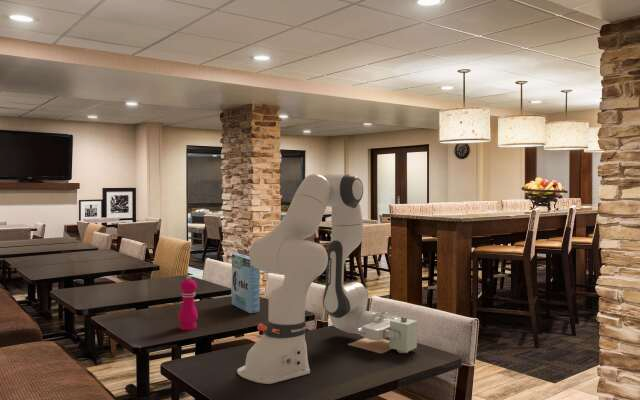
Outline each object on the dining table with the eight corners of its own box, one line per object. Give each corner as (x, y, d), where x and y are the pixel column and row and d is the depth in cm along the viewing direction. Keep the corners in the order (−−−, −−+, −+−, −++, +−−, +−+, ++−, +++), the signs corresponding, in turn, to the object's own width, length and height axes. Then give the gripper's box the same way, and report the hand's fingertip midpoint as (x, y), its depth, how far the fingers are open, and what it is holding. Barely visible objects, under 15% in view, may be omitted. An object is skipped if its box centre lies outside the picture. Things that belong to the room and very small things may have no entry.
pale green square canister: (406, 352, 177) (407, 321, 177) (389, 347, 181) (390, 317, 181) (416, 347, 182) (417, 317, 182) (399, 343, 186) (400, 313, 186)
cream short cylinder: (405, 354, 179) (405, 346, 179) (394, 352, 182) (394, 343, 181) (411, 352, 182) (411, 343, 182) (400, 349, 185) (401, 341, 185)
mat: (381, 354, 179) (381, 353, 179) (347, 345, 188) (347, 344, 188) (403, 344, 190) (403, 344, 190) (370, 336, 199) (370, 335, 199)
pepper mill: (192, 331, 200) (193, 277, 199) (174, 329, 202) (175, 276, 201) (201, 326, 207) (201, 274, 206) (183, 324, 209) (184, 273, 208)
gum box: (259, 312, 230) (260, 258, 229) (248, 313, 228) (249, 259, 227) (241, 303, 247) (242, 252, 246) (230, 304, 244) (231, 253, 243)
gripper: (354, 321, 182) (389, 329, 173) (387, 310, 197) (421, 317, 189) (353, 340, 182) (388, 349, 173) (386, 328, 198) (420, 335, 189)
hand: (405, 332), depth 181 cm, fingers closed on pale green square canister, 7 cm apart
